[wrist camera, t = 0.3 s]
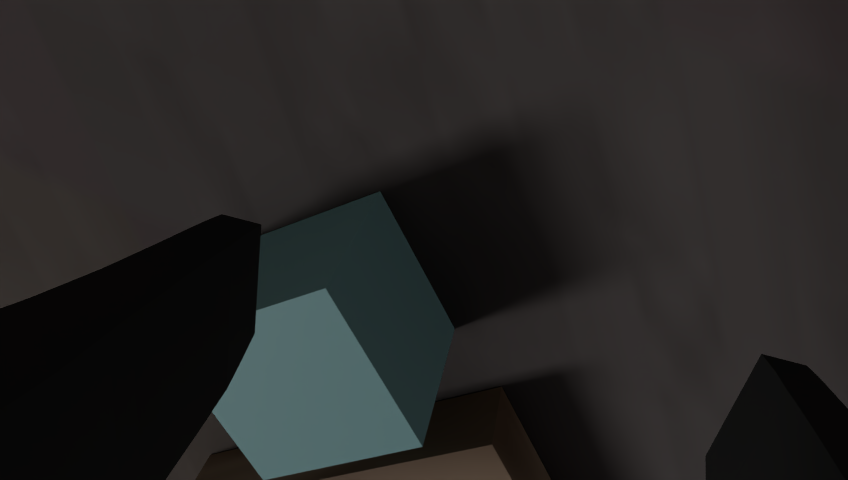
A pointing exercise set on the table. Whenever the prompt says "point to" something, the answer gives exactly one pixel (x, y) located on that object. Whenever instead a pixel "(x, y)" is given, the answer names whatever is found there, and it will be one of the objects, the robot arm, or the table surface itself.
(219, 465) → the walnut base
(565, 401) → the table surface
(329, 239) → the teal block
